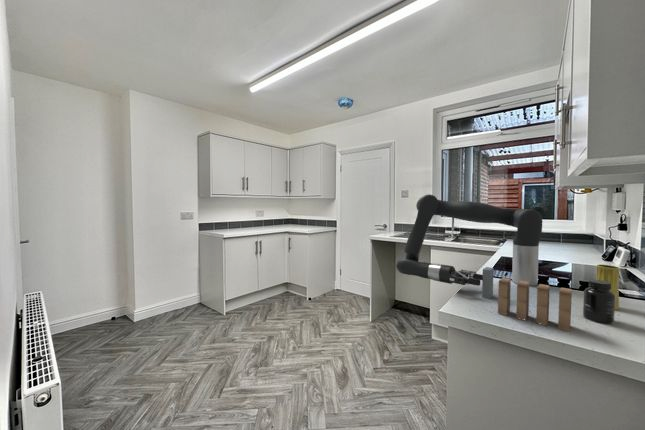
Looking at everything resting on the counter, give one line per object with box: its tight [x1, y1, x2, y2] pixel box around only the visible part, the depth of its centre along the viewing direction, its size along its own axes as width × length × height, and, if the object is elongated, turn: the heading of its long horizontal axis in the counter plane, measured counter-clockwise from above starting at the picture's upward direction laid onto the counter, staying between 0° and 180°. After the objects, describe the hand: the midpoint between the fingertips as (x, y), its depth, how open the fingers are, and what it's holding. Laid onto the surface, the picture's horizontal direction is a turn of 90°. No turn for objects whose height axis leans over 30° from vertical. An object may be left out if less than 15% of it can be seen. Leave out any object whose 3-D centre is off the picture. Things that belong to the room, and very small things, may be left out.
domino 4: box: [535, 283, 551, 326], centre depth 82 cm, size 5×2×11 cm, turn 135°
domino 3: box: [515, 281, 530, 321], centre depth 86 cm, size 5×2×11 cm, turn 135°
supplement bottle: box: [582, 279, 616, 325], centre depth 83 cm, size 7×7×12 cm
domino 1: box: [481, 266, 494, 300], centre depth 104 cm, size 5×2×11 cm, turn 135°
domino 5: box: [557, 287, 573, 331], centre depth 78 cm, size 5×2×11 cm, turn 135°
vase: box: [595, 264, 620, 311], centre depth 93 cm, size 6×6×14 cm
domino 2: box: [497, 277, 512, 316], centre depth 89 cm, size 5×2×11 cm, turn 135°
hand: (483, 280), depth 105 cm, fingers open, 8 cm apart
